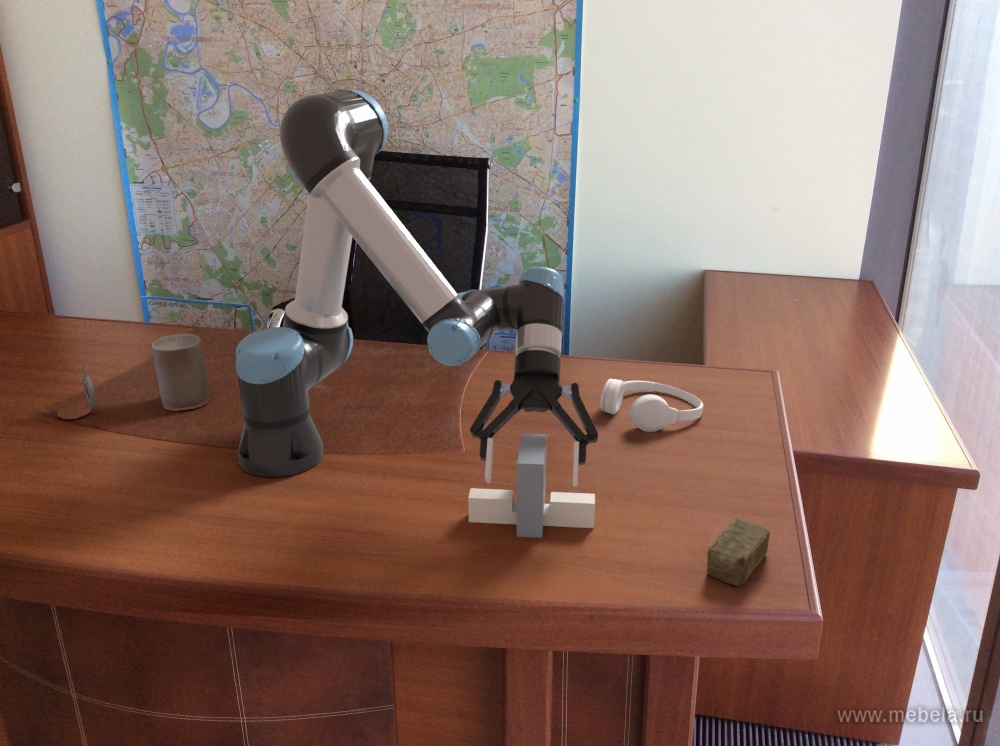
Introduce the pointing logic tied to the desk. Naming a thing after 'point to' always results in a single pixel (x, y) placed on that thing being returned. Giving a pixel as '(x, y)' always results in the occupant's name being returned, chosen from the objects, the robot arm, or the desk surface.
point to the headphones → (649, 404)
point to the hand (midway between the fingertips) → (531, 482)
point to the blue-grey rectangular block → (531, 485)
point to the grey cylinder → (180, 370)
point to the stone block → (737, 552)
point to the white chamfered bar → (557, 513)
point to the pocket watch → (89, 389)
